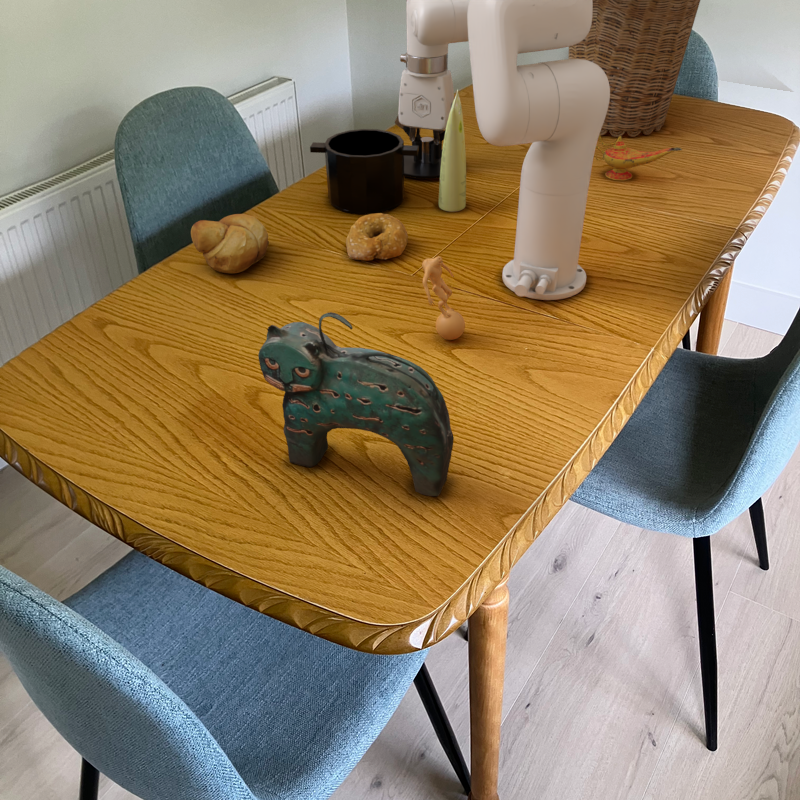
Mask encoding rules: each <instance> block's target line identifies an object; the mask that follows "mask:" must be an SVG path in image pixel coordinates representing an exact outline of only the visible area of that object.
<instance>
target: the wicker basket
mask: <svg viewBox="0 0 800 800" xmlns="http://www.w3.org/2000/svg"><path fill="white" fill-rule="evenodd" d="M592 2H593V11H592V24H591V27H590V31H589V33H588V34H587V36H586V37H585V39H583V40H582V41H581V42H579V43H577V44H575V45H573V46H569V47H568V57H567V59H582V60H588V61H590V62H593V63H595V64H597V65H598V66H599V67H601V69H602V70H603V71H604V72H605V74H606V76H607V78H608V81H609V86H610V100H609V106H608V110H607V113H606V117H605V120H604V123H603V125H602V128H601V131H600V134H599V135H600V136H601V137H603V136H604V135H606V134H607V133H608V132H609V134H610V136H611V137H614V138H618V137H619V136H621V137H623V136H624V135H625V133H626V134H627V136H628V137H630V138H635V137H637V136H639V135H640V134H641V132H642V134H643V135H645V136H648V135H650V134H652V133H653V132H654V131H655V132H659V131H660V130H661V128H662V127H664V125H665V121H666V119H667V115H668V111H669V108H670V105H671V102H672V99H673V96H674V92H675V88H676V85H677V81H678V78H679V75H680V71H681V68H682V64H683V61H684V58H685V54H686V51H687V47H688V44H689V41H690V37H691V34H692V30H693V26H694V23H695V20H696V17H697V14H698V9H699V7H700V3H701V0H592Z"/></svg>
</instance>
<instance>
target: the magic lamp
mask: <svg viewBox="0 0 800 800" xmlns="http://www.w3.org/2000/svg"><path fill="white" fill-rule="evenodd" d="M598 140H599V142H600V143H601V144H602V145H603V146H604V147H608V148H606V149H605V150H603V149H602V148H600V147H599V146H598V145H597V144H596V148H595V149H597V150H598V151H600V152H601V153H602V157H601V158H600V159H599V158H597V156H598V154H596V155H595V159H596V161H602V160H603V161H604V162H605V163H606V164H607V165H608V166H610V167H612V168H613V169H610V170H608V171H606V172H605V174H604V175H605V177H606V178H608V179H609V180H613V181H628V180H631V179H632V178H633V174H632V173H631V172H629V171H628V169H631V168H635V167H640V166H643V165H647V164H650V163H653V162H654V161H655V162H656V161H657V160H660V159H661V158H663V157H665V156H667V155H669V154H671V153H673V152H677V151H678V152H679V151H683V149H682V148H681V147H679V146H678V147H667V148H663V149H659V150H655V151H641V150H638V149H635V148H630V147H627V145H626V143H625V142H624V141H623V136H619V137H617V140H615V141H614V142H611V143H605V142H604V141H603V140H602V136H600V135H599V137H598ZM611 146H612V147H611Z"/></svg>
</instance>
